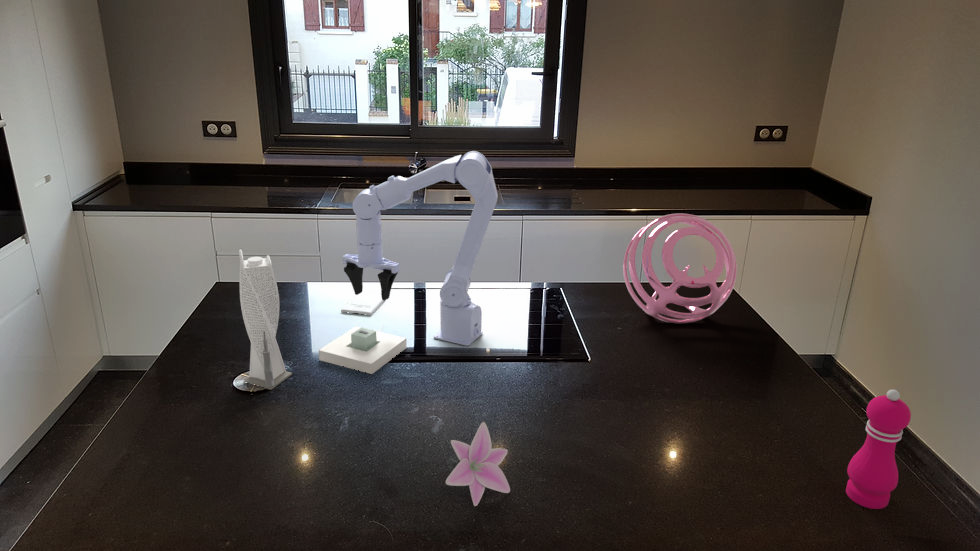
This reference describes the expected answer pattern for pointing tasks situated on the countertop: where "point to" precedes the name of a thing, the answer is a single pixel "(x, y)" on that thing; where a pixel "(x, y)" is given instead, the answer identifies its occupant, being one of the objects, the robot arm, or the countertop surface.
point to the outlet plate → (362, 352)
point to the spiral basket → (681, 277)
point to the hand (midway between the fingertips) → (372, 296)
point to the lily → (479, 465)
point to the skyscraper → (261, 321)
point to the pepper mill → (878, 452)
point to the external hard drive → (364, 303)
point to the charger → (363, 339)
